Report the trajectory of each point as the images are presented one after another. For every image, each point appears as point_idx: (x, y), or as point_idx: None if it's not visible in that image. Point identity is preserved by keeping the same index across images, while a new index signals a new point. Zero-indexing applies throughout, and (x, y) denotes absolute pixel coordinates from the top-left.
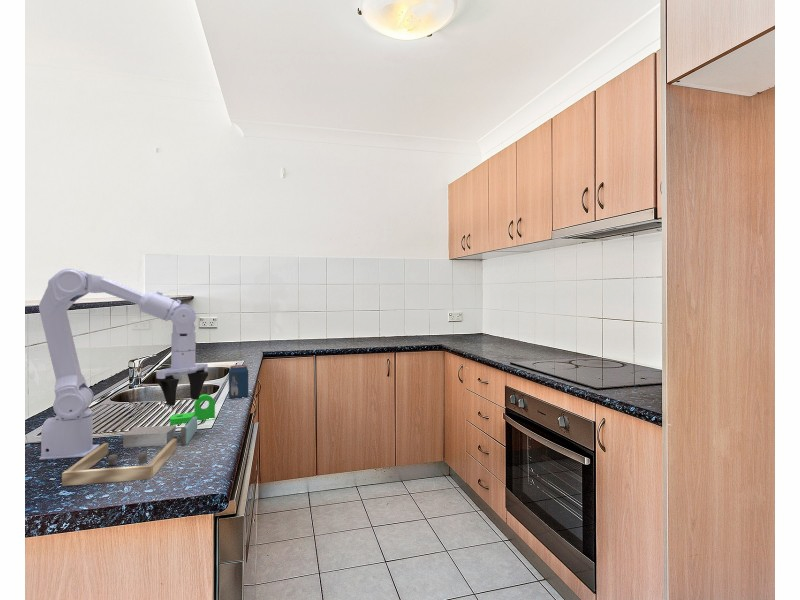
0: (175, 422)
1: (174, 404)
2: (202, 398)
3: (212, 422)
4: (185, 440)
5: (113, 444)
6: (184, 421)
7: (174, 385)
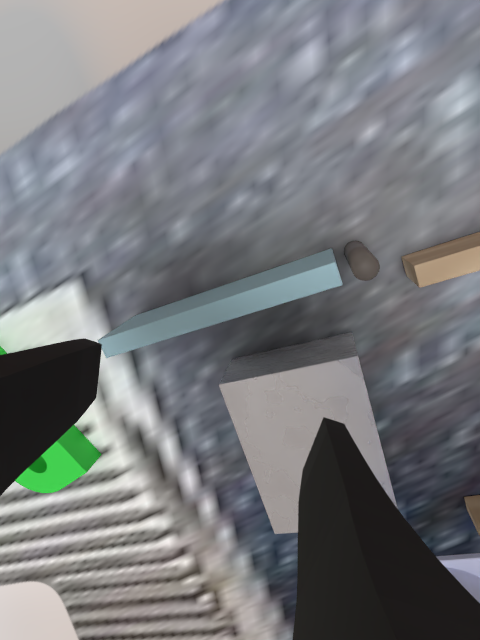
0: (82, 449)
1: (328, 420)
2: None
3: (12, 318)
4: (354, 244)
5: None
6: None
7: (436, 597)
